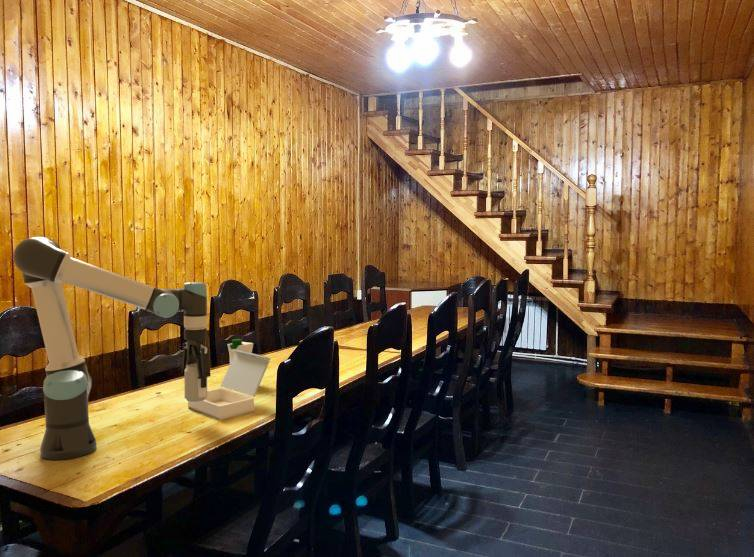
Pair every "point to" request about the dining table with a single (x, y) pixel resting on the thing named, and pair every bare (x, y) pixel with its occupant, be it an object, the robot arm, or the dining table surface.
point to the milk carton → (239, 347)
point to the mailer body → (223, 404)
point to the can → (192, 383)
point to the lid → (245, 372)
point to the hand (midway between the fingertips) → (195, 394)
